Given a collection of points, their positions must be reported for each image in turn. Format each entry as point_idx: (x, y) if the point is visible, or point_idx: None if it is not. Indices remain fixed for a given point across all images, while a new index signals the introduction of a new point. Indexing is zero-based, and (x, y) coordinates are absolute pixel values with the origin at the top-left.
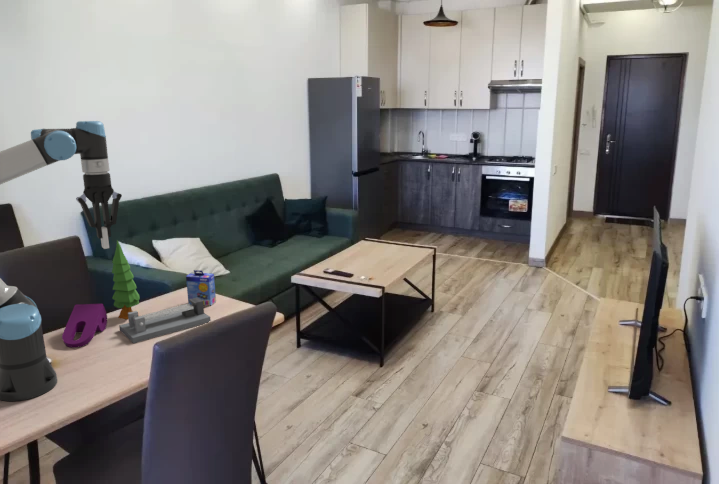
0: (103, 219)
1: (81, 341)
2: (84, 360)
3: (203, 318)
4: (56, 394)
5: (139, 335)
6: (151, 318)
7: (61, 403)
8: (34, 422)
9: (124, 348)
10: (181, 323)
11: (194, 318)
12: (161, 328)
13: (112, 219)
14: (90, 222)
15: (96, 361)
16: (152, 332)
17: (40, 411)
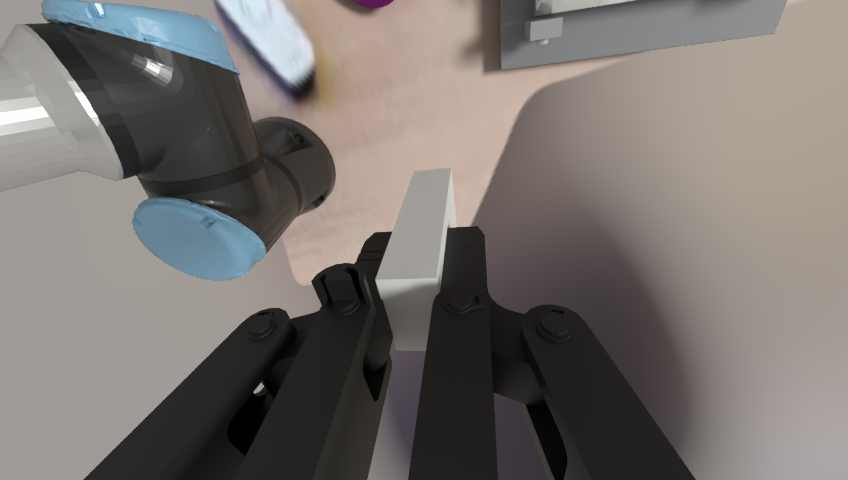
0: (423, 375)
1: (376, 5)
2: (382, 103)
3: (746, 35)
4: (338, 213)
5: (522, 62)
6: (590, 6)
7: (346, 242)
8: (318, 265)
9: (472, 87)
10: (664, 37)
11: (727, 15)
12: (594, 44)
13: (536, 443)
14: (256, 428)
15: (404, 124)
16: (559, 61)
17: (322, 246)
